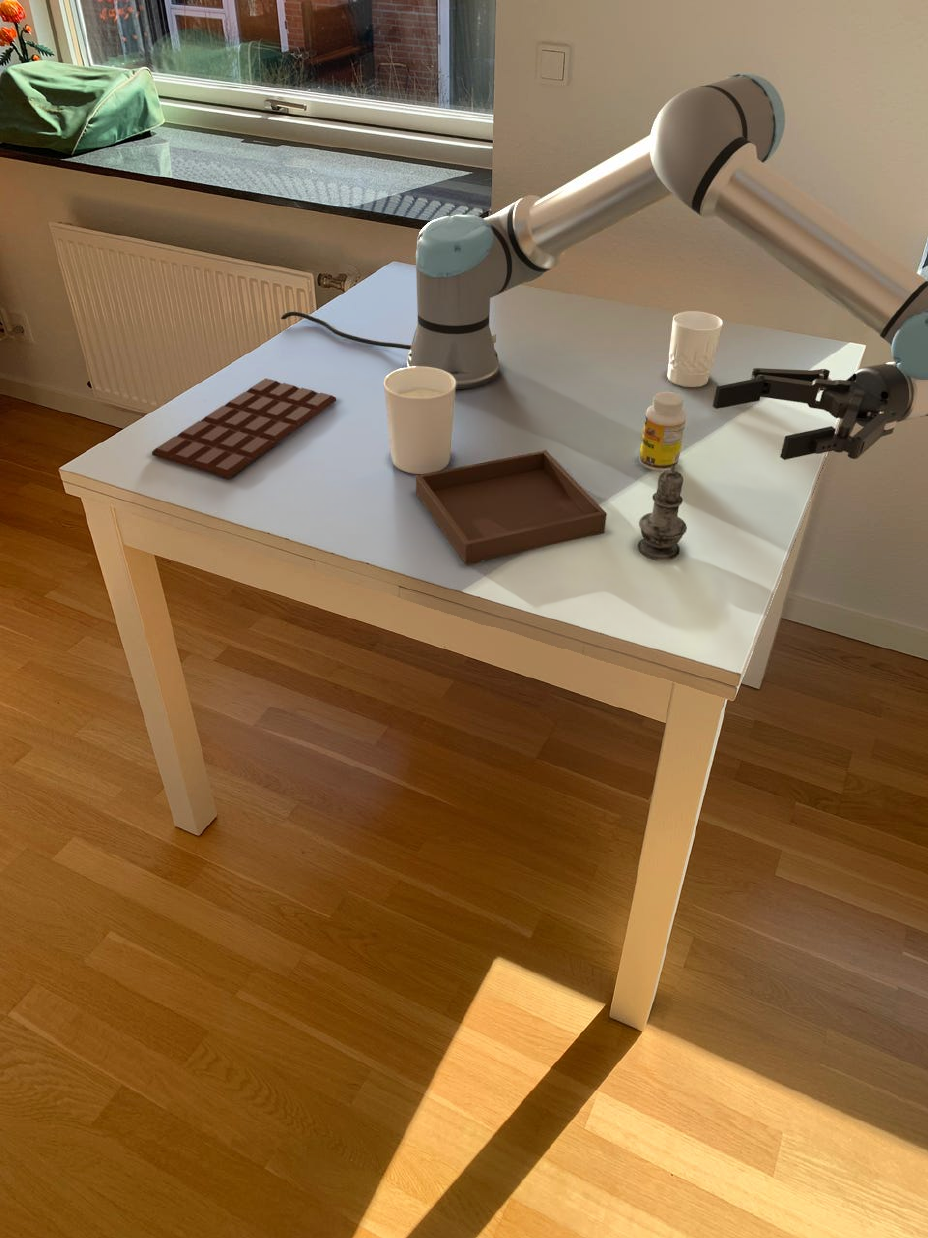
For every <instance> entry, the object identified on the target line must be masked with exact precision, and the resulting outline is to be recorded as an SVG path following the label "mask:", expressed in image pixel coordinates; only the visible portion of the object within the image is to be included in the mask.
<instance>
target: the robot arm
mask: <svg viewBox="0 0 928 1238" xmlns="http://www.w3.org/2000/svg"><path fill="white" fill-rule="evenodd" d="M785 125H786V112H785V107H784V102H783V100H782V97H781V95H780V93H779V92H778V90H777V89H776V87H775V86H774V85H773V84H772V83H771V82H770V81H769V80H768V79H766V78H764V77H762V76H760V75H757V74H753V73H735V74H734V73H733V74H731V75H729V76H728V77H725V78H723V79H719V80H716V81H712V82H709V83H706V84H703V85H699V86H695V87H692V88H688V89H686V90H683V91H681V92H680V93H677V94H676V95H674V97H672V98H670V100H668V102H666V103H665V105H663V107H662V108H661V110H660V111H659V112H658V114H657V116H656V118H655V120H654V122H653V125H652V128H651V132H650V134H649V135H647V136H645V137H644V138H642V139H640V140H638V141H637V142H635V143H634V144H632V145H630V146H628V147H627V148H625V149H623V150H622V151H620V152H618V153H617V154H614V155H613V156H611V157H610V158H608V159H606V160H604V161H603V162H601V163H599V164H598V165H596V166H594V167H592V168H591V169H589V170H587V171H585V172H584V173H582V174H580V175H579V176H577V177H575V178H574V179H572V180H570V181H569V182H567V183H565V184H564V185H562V186H560V187H558V188H556V189H555V190H553V191H552V192H550V193H548V194H546V195H545V196H543V197H540V196H537V195H534V194H533V195H532V194H529V195H525V196H523V197H521V198H520V199H517V200H515V202H513V203H511V204H509V205H508V206H506V207H504V208H503V209H501V210H499V211H497V212H496V213H494V214H492V215H490V216H487V217H484V218H483V217H481V216H477V215H473V214H454V215H453V216H449V215H446V216H441V217H439V218H435V219H434V220H432V221H430V222H428V223H427V224H426V225H424V226H423V227H422V229H421V230H420V232H419V233H418V236H417V239H416V252H415V266H416V267H415V269H416V271H415V272H416V302H417V303H416V311H417V312H416V313H417V324H416V329H415V331H414V335H413V337H412V341H411V344H406V343H398V342H387V341H380V340H373V339H368V338H363V337H360V336H356V335H353V334H349V333H346V332H343V331H341V330H339V329H338V328H335V327H334V326H332V325H331V324H330V323H329V322H327V321H325V320H323V319H320V318H317V317H315V316H312V315H309V314H307V313H304V312H301V311H300V312H299V311H288V312H286V313H284V314H282V316H281V317H280V319H281V320H286V319H288V318H290V317H300V318H302V319H305V320H308V321H311V322H313V323H316V324H319V325H321V326H323V327H325V328H326V329H328V330H329V331H330V332H332V333H333V334H334V335H337V336H339V337H341V338H344V339H347V340H351V341H354V342H358V343H362V344H367V345H372V346H376V347H377V346H378V347H384V348H395V349H402V350H408V353H407V357H406V358H407V359H406V368H407V367H432V368H437V369H441V370H444V371H446V372H448V373H450V374H451V375H452V376H453V377H454V378H455V380H456V389H455V390H466V389H467V390H468V389H473V388H477V387H480V386H481V387H482V386H483V385H486V384H488V383H490V382H491V381H493V380H494V379H495V378H496V377H497V376H498V374H499V371H500V360H499V355H498V352H497V350H496V349H495V343H497V334H492V331H491V327H490V316H491V315H490V313H491V299H492V298H493V297H496V296H498V295H500V294H502V293H504V292H506V291H508V290H511V289H513V288H515V287H518V286H520V285H522V284H525V283H528V282H532V281H534V280H536V279H538V278H540V277H541V276H543V275H544V274H545V273H546V272H548V271H550V270H552V269H555V267H557V266H558V265H559V264H561V262H562V261H563V259H564V256H565V255H566V254H565V253H566V251H567V250H570V249H571V248H573V247H575V246H577V245H579V244H582V243H583V242H586V241H587V240H589V239H591V238H593V237H595V236H596V235H599V234H601V233H603V232H604V231H607V230H608V229H610V228H612V227H614V226H616V225H619V224H620V223H622V222H623V221H626V220H628V219H630V218H631V217H634V216H636V215H637V214H639V213H642V212H643V211H645V210H647V209H649V208H651V207H653V206H655V205H657V204H659V203H661V202H663V201H665V200H666V199H668V198H670V197H672V196H675V198H676V199H678V200H679V201H680V202H682V203H683V204H684V205H686V206H687V207H688V208H689V209H691V210H692V211H694V212H695V213H696V214H698V216H700V217H702V218H703V219H710V218H714V217H718V218H719V219H720V220H722V222H724V223H726V224H727V226H729V227H731V228H732V229H734V230H735V231H736V232H738V233H739V234H741V236H743V237H744V238H746V239H747V240H749V241H750V242H751V243H752V244H754V245H755V246H756V247H758V248H760V250H762V251H764V252H765V253H766V254H768V255H769V256H770V257H772V258H773V259H774V260H776V261H777V262H778V263H780V264H781V265H782V266H784V267H785V268H787V269H788V270H789V271H790V272H792V273H793V274H795V275H796V276H798V277H799V278H800V279H801V280H803V281H805V282H806V283H807V284H808V285H810V286H811V287H812V288H814V289H815V290H816V291H818V292H819V293H820V294H821V295H823V296H825V297H826V298H827V299H829V300H830V301H831V302H833V303H834V304H835V305H837V306H838V307H840V308H841V309H842V310H844V312H846V313H848V314H849V315H851V316H852V317H853V318H855V319H856V320H857V321H859V322H860V323H861V324H863V325H864V326H865V327H867V328H868V329H869V330H871V331H872V332H874V334H876V335H877V336H879V337H880V338H882V339H883V340H884V341H886V343H888V344H889V345H891V356H892V358H893V361H889V362H887V363H880V364H875V365H869V366H864V367H862V368H859V369H858V370H856V371H854V373H853V374H852V375H851V376H850V377H848V378H847V379H834V380H833V379H832V378H830V372H831V371H830V370H829V369H827V368H820V369H810V370H809V369H785V368H762V367H755V368H752V371H751V376H750V379H747V380H741V381H737V382H732V383H727V384H722V385H717V386H716V387H715V393H714V397H713V401H712V403H713V404H712V408H714V409H715V410H718V409H719V410H720V409H723V408H729V407H734V406H739V405H744V404H749V403H754V402H759V401H760V400H761V398H766V399H773V400H780V401H787V402H794V403H802V404H806V405H807V406H808V407H809V408H811V409H816V410H822V411H824V412H826V413H829V414H830V416H832V417H834V418H835V419H840V420H842V421H841V423H839V425H838V428H837V429H836V428H835V427H833V425H831V426H826V427H821V428H817V429H812V430H806V431H801V432H797V433H792V434H788V435H785V436H784V439H783V440H784V441H783V443H782V449H781V451H780V456H779V458H781V459H782V460H783V461H786V460H791V459H794V458H800V457H805V456H808V455H809V456H810V455H813V454H815V455H819V454H824V453H830V452H834V453H835V452H836V453H841V454H842V453H843V452H845V453H847V457H848V458H849V459H852V460H857V459H859V458H860V457H862V455H863V454H864V453H865V452H867V450H869V449H870V448H871V447H872V446H874V444H876V443H877V442H878V441H879V440H880V439H881V438H882V437H885V436H889V435H892V434H893V433H894V429H895V427H896V424H897V423H899V422H903V421H907V420H912V419H917V418H923V417H928V280H927V279H926V278H925V277H924V276H922V275H920V274H919V273H917V272H916V271H915V270H914V269H912V268H911V267H909V266H908V265H907V264H905V263H904V262H902V261H901V260H900V259H898V258H896V257H895V256H894V255H892V254H891V253H889V252H888V250H886V249H884V248H883V247H881V246H880V245H879V244H877V243H875V242H874V241H873V240H872V239H870V238H869V237H867V236H866V235H865V234H864V233H862V232H860V231H859V230H857V228H855V227H853V226H852V225H851V224H849V223H847V222H846V221H845V220H844V219H842V218H841V217H839V216H838V215H837V214H835V213H833V212H832V211H831V210H830V209H828V208H827V207H826V206H824V205H823V204H821V203H820V202H818V201H817V200H816V199H814V198H813V197H811V196H810V195H809V194H807V193H806V192H804V191H803V190H801V189H800V188H799V187H798V186H796V185H795V184H793V183H791V182H790V181H789V180H787V179H786V178H785V177H783V176H782V175H780V173H778V172H777V171H775V170H773V169H772V168H771V167H769V166H768V165H767V164H766V162H767V161H768V160H769V159H770V158H771V157H772V156H773V155H774V154H775V153H776V151H777V150H778V148H779V146H780V145H781V142H782V139H783V135H784V133H785ZM821 391H822V392H821ZM820 392H821V394H820V399H819V400H817V397H818V394H819V393H820ZM855 425H859V426H861V429H859V431H857V432H856V433H855V434H854V435H853V436H851V434H852V432H853V430H854V428H855ZM836 430H837V433H836Z"/></svg>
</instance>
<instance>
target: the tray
mask: <svg viewBox="0 0 928 1238" xmlns="http://www.w3.org/2000/svg"><path fill="white" fill-rule="evenodd" d="M415 495H416V496H417V498H418V499H419V501H420V502H421V504H422V505H423V507H424V508H425V509H426V511H427V513H428V514H429V515H430V516H431V518H432V519H433V521H434V522H435V523H436V525H437V527H438V528H439V529H440V531H441V532H442V533H443V535H444V536H445V538H446V539H447V541H448V542H449V543H450V545H451V547H452V548H453V549H454V550H455V552H456V554H458V556H459V558H460V559H461V560H462V562H463V563H464V564H465V565H470V564H471V565H472V564H475V563H480V562H483V561H488V560H493V559H497V558H502V557H505V556H509V555H514V554H519V553H522V552H528V551H532V550H535V549H541V548H545V547H549V546H553V545H557V544H562V543H567V542H570V541H575V540H580V539H583V538H587V537H592V536H596V535H601V534H605V533H606V532H605V530H606V523H607V515H608V514H607V512H606V511H605V510H604V509H603V508H602V507H601V506H600V504H598V502H597V501H596V500H595V499H594V498H592V496H591V495H590V494H589V493H588V492H587V491H586V490H585V489H584V488H583V487H582V486H581V485H580V484H579V483H578V482H577V481H576V480H575V478H574V477H573V476H571V474H570V473H569V472H568V471H567V470H566V469H565V468H564V467H563V466H562V464H561V463H559V462H558V461H557V460H556V459H555V458H554V457H553V455H551V454H550V452H549V451H547V449H545V450H539V451H535V452H534V451H533V452H529V453H524V454H518V455H514V456H513V455H512V456H509V457H508V456H507V457H503V458H498V459H493V460H488V461H483V462H478V463H473V464H468V465H461V466H458V467H453V468H447V469H442V470H440V471H436V472H431V473H426V474H415Z"/></svg>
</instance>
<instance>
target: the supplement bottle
mask: <svg viewBox="0 0 928 1238" xmlns="http://www.w3.org/2000/svg"><path fill="white" fill-rule="evenodd" d="M683 405H684V398H683V396H682V395H680V394H679V393H676V392H672V391H660V392H657V393H655V395H654V396H653V401H652V404H651V405H650V406H649V407H647V409H646V411H645V417H644V423H643V430H642V436H641V442H640V443H641V444H640V449H639V455H638V456H639V457H638V458H639V459H638V460H639V462H640V464H641V465H642V466H643V467H644V468H646V469H648V470H651V471H653V472H663V471H666V470H671V469H670V467H671V466H673V465H674V466H675V468H677V465H678V463H679V459H680V454H681V449H682V444H683V439H684V433H685V429H686V427H685V426H686V422H687V413H686V411H685V410H684V409H683Z"/></svg>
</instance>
